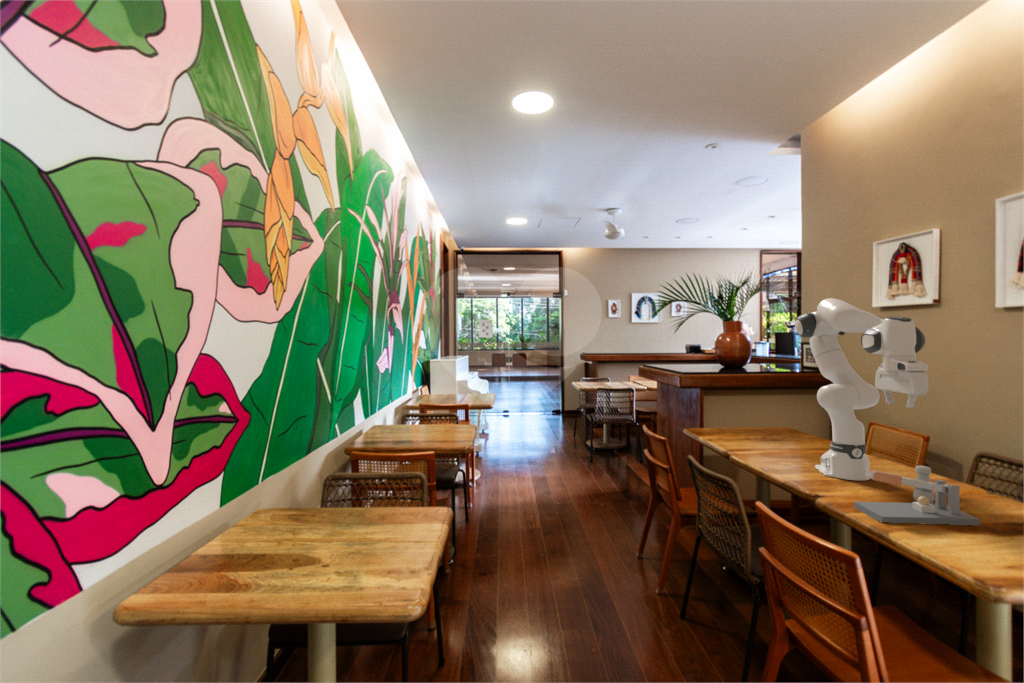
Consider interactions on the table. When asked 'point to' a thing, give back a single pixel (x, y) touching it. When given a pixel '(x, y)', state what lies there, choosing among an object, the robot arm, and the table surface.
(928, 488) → the lever
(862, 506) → the base
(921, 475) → the salt shaker
